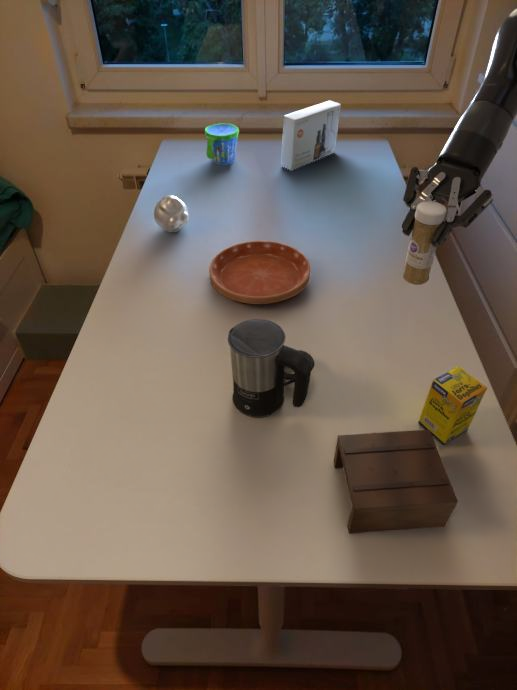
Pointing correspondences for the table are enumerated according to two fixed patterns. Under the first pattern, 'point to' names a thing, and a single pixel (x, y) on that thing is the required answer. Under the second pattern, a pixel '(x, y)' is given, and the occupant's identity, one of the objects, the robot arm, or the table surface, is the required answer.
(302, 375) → the milk frother
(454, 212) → the robot arm
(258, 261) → the saucer
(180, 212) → the shiny silver ball
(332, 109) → the skincare box
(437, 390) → the supplement box
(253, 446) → the table surface
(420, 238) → the sprinkles bottle
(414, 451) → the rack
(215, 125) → the snack cup
